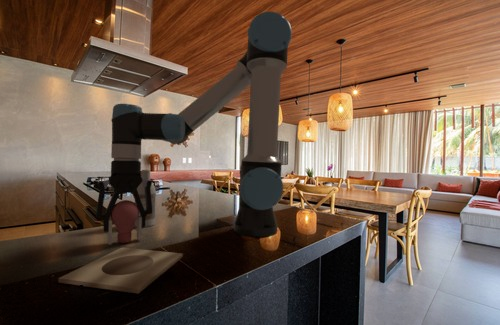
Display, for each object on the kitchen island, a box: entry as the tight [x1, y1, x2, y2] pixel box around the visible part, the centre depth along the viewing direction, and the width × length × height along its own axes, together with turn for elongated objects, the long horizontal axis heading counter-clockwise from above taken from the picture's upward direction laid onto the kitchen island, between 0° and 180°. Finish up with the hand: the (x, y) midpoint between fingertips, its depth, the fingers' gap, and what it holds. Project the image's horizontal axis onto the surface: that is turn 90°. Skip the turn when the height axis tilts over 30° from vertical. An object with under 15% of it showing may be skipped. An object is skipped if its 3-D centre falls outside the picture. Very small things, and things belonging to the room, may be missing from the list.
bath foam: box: [133, 169, 157, 228], centre depth 88 cm, size 7×7×20 cm
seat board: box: [58, 247, 184, 294], centre depth 53 cm, size 17×17×1 cm
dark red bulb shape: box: [110, 199, 139, 244], centre depth 69 cm, size 7×7×12 cm
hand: (124, 240), depth 69 cm, fingers closed on dark red bulb shape, 7 cm apart
